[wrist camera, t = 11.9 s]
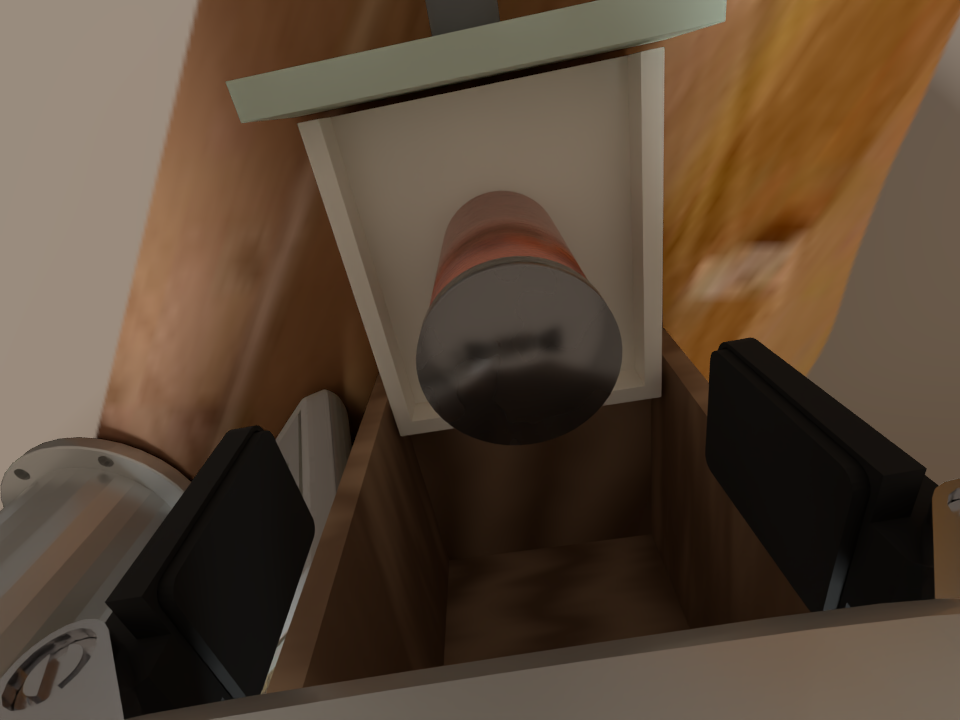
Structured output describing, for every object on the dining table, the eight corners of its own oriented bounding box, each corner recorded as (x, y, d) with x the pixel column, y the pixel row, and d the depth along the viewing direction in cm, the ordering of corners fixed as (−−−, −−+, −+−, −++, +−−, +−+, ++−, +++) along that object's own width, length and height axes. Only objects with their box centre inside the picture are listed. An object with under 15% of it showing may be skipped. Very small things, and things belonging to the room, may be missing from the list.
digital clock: (330, 367, 26) (251, 515, 17) (444, 457, 30) (430, 622, 20) (179, 509, 32) (57, 680, 23) (290, 572, 35) (223, 744, 26)
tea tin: (428, 200, 20) (392, 287, 11) (554, 177, 20) (619, 247, 11) (453, 315, 23) (440, 456, 14) (565, 296, 22) (624, 430, 14)
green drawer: (389, 400, 27) (371, 463, 23) (209, -144, 16) (101, -242, 12) (661, 357, 26) (701, 414, 21) (665, -263, 15) (752, -426, 10)
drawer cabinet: (439, 559, 34) (394, 1141, 15) (378, 374, 27) (131, 1076, 8) (661, 530, 33) (918, 1125, 14) (663, 328, 26) (1237, 1027, 6)
